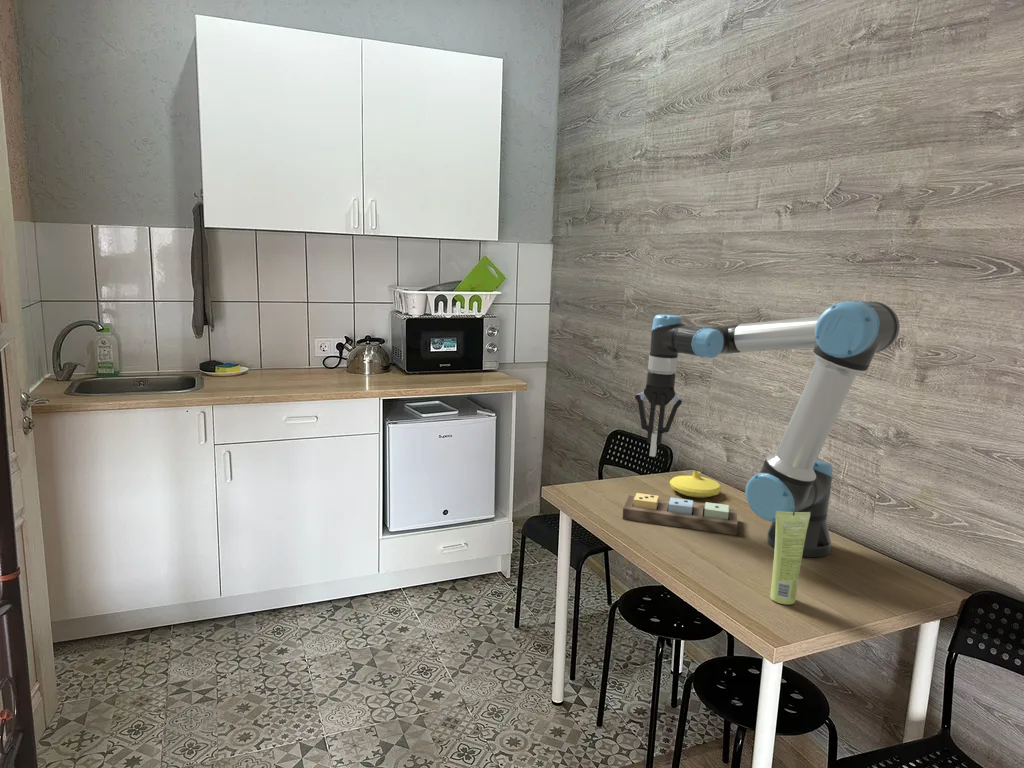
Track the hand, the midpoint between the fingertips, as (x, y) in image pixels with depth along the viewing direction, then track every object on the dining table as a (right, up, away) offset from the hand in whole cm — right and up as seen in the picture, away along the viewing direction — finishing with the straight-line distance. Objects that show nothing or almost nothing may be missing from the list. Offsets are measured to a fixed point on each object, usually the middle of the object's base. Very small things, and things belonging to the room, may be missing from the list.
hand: (652, 455), depth 191 cm
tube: (+18, -26, -46) cm, 56 cm away
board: (+7, -18, 0) cm, 19 cm away
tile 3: (-2, -15, +2) cm, 15 cm away
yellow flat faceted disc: (+18, -15, +23) cm, 33 cm away
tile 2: (+7, -16, -1) cm, 18 cm away
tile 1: (+17, -17, -3) cm, 24 cm away
